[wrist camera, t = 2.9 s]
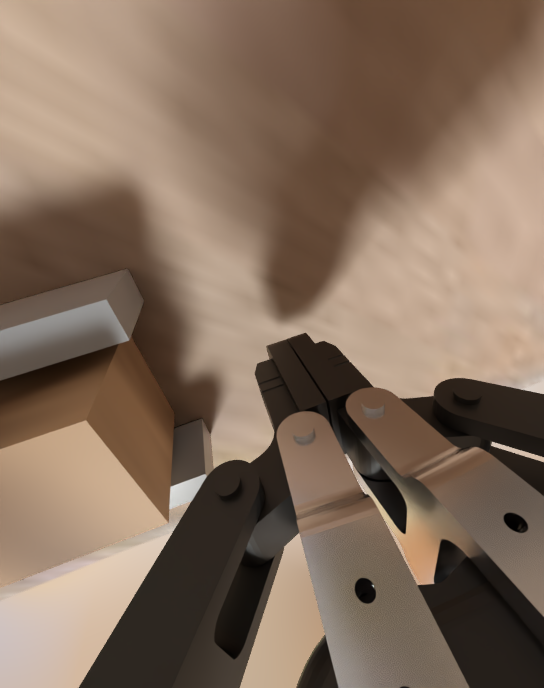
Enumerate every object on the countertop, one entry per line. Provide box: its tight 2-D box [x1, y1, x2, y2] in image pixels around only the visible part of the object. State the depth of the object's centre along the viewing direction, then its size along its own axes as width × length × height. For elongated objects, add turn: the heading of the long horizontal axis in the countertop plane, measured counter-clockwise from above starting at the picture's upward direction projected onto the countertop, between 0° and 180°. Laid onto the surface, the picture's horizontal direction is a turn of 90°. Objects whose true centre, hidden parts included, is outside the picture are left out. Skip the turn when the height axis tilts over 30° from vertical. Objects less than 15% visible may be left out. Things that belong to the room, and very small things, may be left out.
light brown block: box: [0, 337, 175, 588], centre depth 9 cm, size 6×4×5 cm
